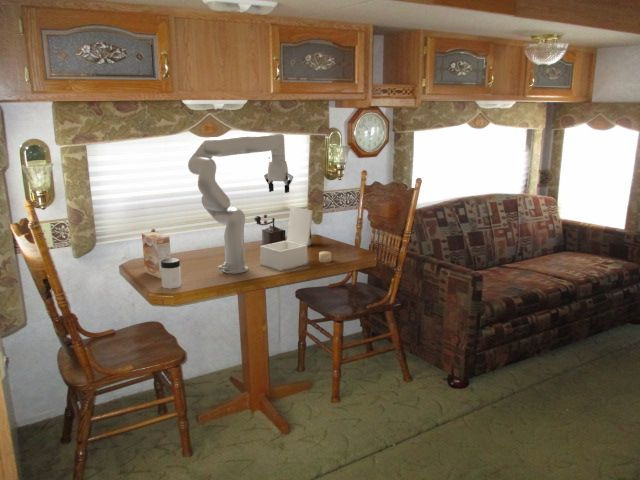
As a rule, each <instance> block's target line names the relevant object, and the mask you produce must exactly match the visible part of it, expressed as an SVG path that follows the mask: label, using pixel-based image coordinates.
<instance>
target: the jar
mask: <svg viewBox="0 0 640 480" xmlns="http://www.w3.org/2000/svg"><path fill="white" fill-rule="evenodd" d="M181 272H182V268H181V261H180V258H174V257H171V258H169V259H164V260H162V261H161V277H162V278H161V287H163V289H167V288H169V289H168V290H172V288H173V289H178V288H181V286H182V273H181Z"/></svg>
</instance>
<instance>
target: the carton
mask: <svg viewBox="0 0 640 480" xmlns="http://www.w3.org/2000/svg"><path fill="white" fill-rule="evenodd" d="M259 254H260V255H259V256H260V257H259V258H260V259H259V260H260V262H259V263H260V266H263V267H265V268H269V269H273V270H275V271H279V272H283V271H287V270H291V269H295V268H298V266H299V267H302V266H305V265H308V247H307V245H303V244H299V243H295V242H291V241H287V239H286V241H282V242H277V243H272V244H268V245H260V246H259Z"/></svg>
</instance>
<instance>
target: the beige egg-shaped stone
mask: <svg viewBox="0 0 640 480" xmlns="http://www.w3.org/2000/svg"><path fill="white" fill-rule="evenodd" d="M318 261H319V263H325V264H326V263H331V262H332V252H331V251H320V252H318Z"/></svg>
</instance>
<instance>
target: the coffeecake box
mask: <svg viewBox="0 0 640 480" xmlns="http://www.w3.org/2000/svg"><path fill="white" fill-rule="evenodd" d="M170 239H171V237H170V236H169V235H165V234H162V233H159V232H156V231H152V232H145V233H144V232H143V233H142V234H141V241H142V242H141V243H142V252H143V264H144V273H146V274H147V275H148V274H149V275H151V276H153V277H156V278H157V279H162V277H161V261H162V260H164V259H169V258H172V254H171V253H172V252H171V243H170V242H171V240H170Z"/></svg>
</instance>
